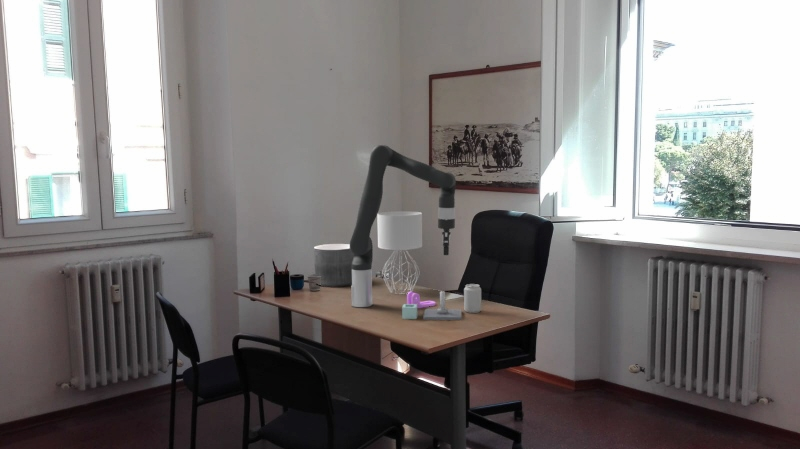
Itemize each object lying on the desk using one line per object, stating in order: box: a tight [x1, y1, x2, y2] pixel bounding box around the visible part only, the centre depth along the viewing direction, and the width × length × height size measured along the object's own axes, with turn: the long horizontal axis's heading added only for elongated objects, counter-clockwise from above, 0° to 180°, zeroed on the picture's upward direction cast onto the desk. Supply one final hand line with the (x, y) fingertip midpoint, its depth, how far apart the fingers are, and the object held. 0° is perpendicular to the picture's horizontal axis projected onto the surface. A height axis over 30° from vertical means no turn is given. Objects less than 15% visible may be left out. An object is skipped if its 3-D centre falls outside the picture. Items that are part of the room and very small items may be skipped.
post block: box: [422, 290, 462, 321], centre depth 283 cm, size 16×14×10 cm
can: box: [463, 283, 482, 314], centre depth 290 cm, size 8×8×12 cm
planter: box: [313, 243, 353, 288], centre depth 357 cm, size 22×22×20 cm
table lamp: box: [376, 210, 423, 295], centre depth 332 cm, size 22×22×40 cm
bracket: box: [406, 290, 436, 309], centre depth 302 cm, size 13×6×7 cm, turn 117°
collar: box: [401, 303, 418, 320], centre depth 282 cm, size 6×6×5 cm
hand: (446, 253), depth 294 cm, fingers open, 8 cm apart
